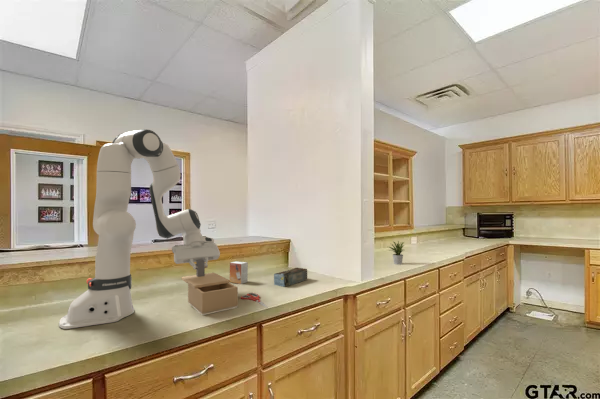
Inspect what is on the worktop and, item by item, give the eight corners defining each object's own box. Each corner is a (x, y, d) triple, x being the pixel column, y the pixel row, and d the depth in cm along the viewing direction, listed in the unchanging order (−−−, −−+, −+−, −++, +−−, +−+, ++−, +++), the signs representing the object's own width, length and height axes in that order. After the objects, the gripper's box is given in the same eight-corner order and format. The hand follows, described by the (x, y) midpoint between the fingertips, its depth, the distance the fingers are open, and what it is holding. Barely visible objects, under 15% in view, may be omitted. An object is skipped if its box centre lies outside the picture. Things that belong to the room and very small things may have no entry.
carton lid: (194, 288, 116) (194, 267, 116) (181, 279, 130) (181, 261, 131) (229, 282, 124) (229, 263, 124) (213, 274, 139) (213, 257, 139)
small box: (229, 282, 156) (229, 262, 157) (236, 280, 161) (236, 260, 162) (241, 284, 153) (241, 263, 153) (247, 281, 158) (247, 262, 158)
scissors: (267, 310, 115) (267, 306, 115) (237, 298, 130) (237, 295, 130) (282, 305, 120) (282, 302, 120) (252, 295, 135) (252, 291, 135)
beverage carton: (273, 285, 152) (273, 272, 152) (297, 278, 166) (297, 266, 167) (284, 287, 147) (284, 274, 147) (308, 280, 161) (308, 268, 162)
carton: (202, 315, 109) (202, 293, 109) (188, 302, 123) (188, 283, 123) (237, 307, 117) (237, 287, 117) (220, 296, 131) (220, 278, 132)
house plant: (395, 260, 217) (394, 238, 218) (412, 263, 207) (412, 240, 207) (383, 263, 208) (383, 240, 209) (401, 266, 198) (401, 241, 198)
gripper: (172, 241, 132) (177, 266, 124) (216, 238, 144) (224, 261, 136) (169, 250, 136) (175, 275, 127) (213, 246, 148) (220, 269, 140)
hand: (200, 267), depth 132 cm, fingers closed on carton lid, 3 cm apart
